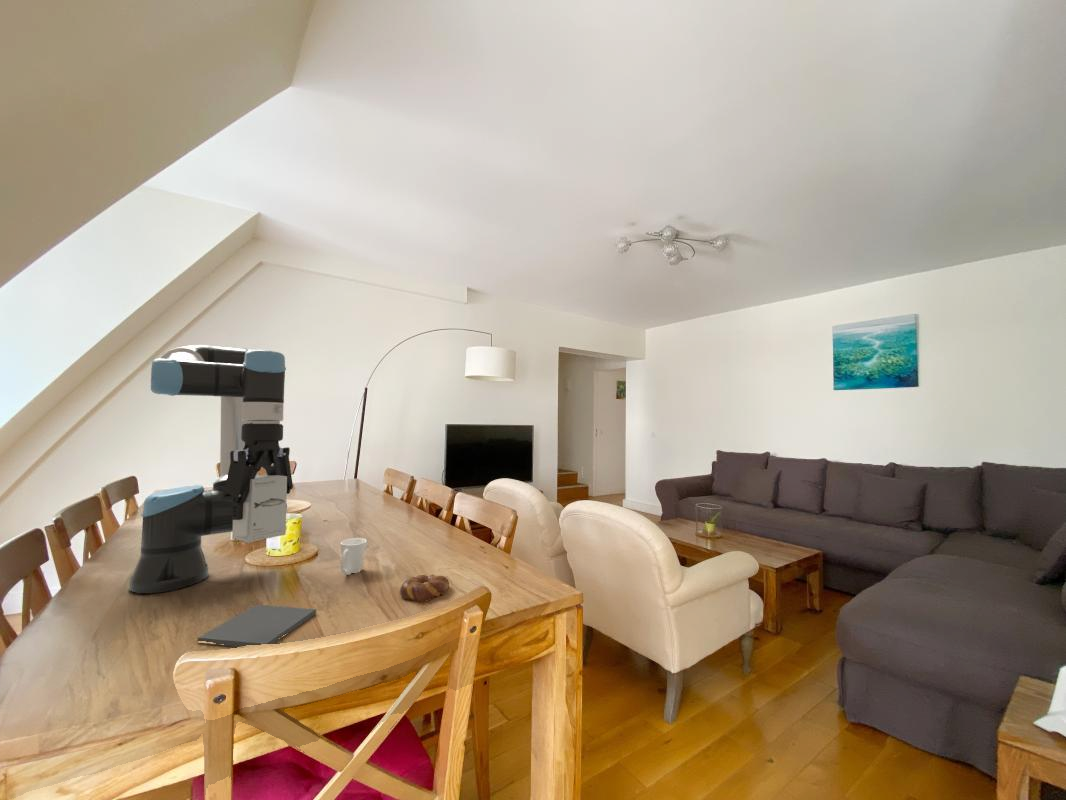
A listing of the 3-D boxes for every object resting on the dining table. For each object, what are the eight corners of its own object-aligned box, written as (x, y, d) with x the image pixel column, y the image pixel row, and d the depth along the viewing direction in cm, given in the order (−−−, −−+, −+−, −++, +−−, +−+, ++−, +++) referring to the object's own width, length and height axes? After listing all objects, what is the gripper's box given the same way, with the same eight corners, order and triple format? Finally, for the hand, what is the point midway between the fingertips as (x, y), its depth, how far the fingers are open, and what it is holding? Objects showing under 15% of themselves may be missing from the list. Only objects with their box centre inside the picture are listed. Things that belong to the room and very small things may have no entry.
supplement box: (249, 543, 83) (250, 479, 84) (231, 538, 87) (232, 477, 88) (287, 535, 90) (288, 475, 90) (268, 530, 94) (270, 473, 94)
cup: (370, 566, 118) (371, 537, 119) (354, 580, 108) (355, 548, 109) (346, 566, 119) (347, 537, 119) (328, 580, 109) (329, 548, 109)
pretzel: (440, 581, 110) (440, 566, 110) (456, 596, 101) (457, 580, 101) (393, 590, 103) (394, 575, 103) (406, 607, 94) (407, 590, 94)
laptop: (197, 643, 78) (197, 637, 78) (256, 609, 92) (257, 604, 92) (265, 649, 76) (265, 643, 76) (315, 613, 90) (315, 609, 90)
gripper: (236, 422, 79) (231, 544, 77) (312, 423, 100) (309, 518, 99) (201, 422, 80) (195, 543, 78) (283, 423, 101) (280, 517, 100)
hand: (259, 529), depth 89 cm, fingers closed on supplement box, 9 cm apart
